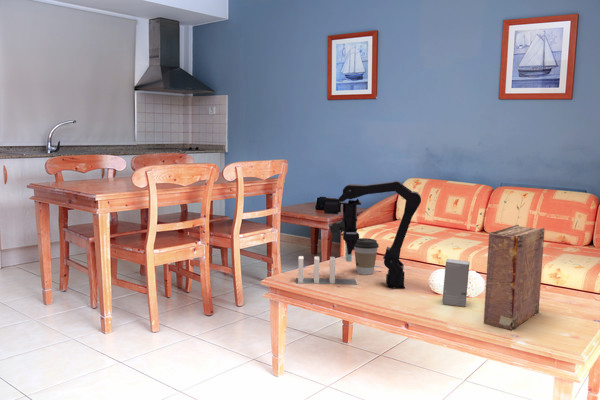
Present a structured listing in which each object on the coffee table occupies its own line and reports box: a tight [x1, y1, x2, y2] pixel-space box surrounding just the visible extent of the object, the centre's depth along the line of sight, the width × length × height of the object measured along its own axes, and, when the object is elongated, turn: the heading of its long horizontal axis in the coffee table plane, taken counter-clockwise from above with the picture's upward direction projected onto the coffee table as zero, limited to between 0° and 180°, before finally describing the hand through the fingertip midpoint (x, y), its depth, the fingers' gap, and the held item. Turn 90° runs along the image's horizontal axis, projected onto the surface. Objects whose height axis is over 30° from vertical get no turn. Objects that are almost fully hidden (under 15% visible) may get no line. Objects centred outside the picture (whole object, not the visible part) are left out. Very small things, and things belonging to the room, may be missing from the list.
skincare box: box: [441, 258, 471, 308], centre depth 191 cm, size 8×7×16 cm
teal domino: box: [345, 244, 353, 263], centre depth 215 cm, size 2×5×10 cm, turn 0°
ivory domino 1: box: [313, 255, 320, 283], centre depth 217 cm, size 2×5×10 cm, turn 0°
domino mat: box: [295, 277, 358, 286], centre depth 218 cm, size 25×8×1 cm, turn 90°
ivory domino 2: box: [328, 256, 336, 285], centre depth 216 cm, size 2×5×10 cm, turn 0°
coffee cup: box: [353, 237, 379, 276], centre depth 232 cm, size 11×11×15 cm
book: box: [483, 224, 545, 331], centre depth 176 cm, size 25×9×30 cm, turn 138°
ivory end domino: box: [297, 255, 305, 283], centre depth 217 cm, size 2×5×10 cm, turn 0°
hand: (348, 252), depth 216 cm, fingers closed on teal domino, 5 cm apart
